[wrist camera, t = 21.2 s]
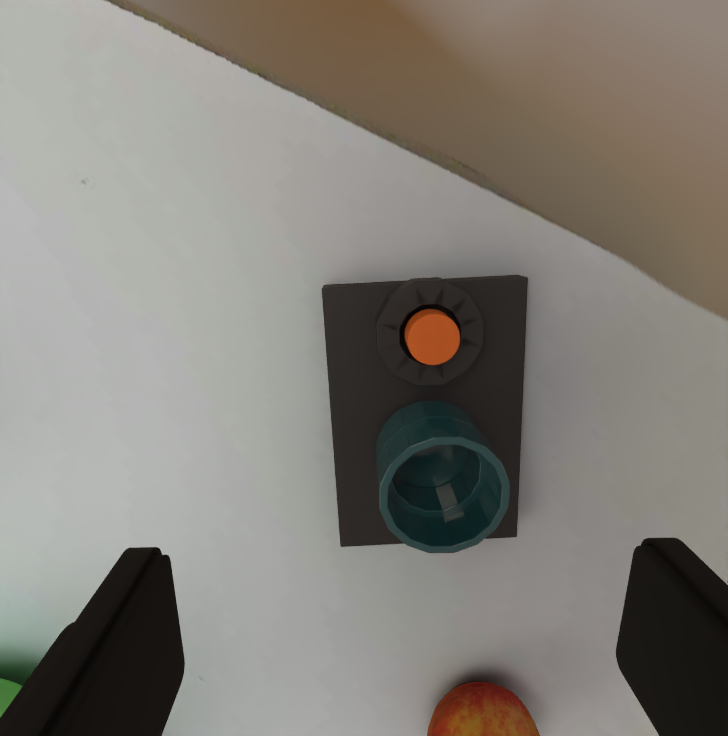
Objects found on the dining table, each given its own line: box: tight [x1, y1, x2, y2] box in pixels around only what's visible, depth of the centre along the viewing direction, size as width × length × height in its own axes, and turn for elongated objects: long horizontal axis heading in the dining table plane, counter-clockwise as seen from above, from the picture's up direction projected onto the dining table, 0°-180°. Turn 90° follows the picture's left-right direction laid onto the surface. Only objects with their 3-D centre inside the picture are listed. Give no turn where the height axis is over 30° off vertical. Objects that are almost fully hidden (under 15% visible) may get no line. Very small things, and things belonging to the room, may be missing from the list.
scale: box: [322, 275, 528, 547], centre depth 28 cm, size 16×11×3 cm
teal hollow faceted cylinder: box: [375, 401, 510, 553], centre depth 26 cm, size 6×6×6 cm
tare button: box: [404, 309, 460, 365], centre depth 24 cm, size 3×3×2 cm
